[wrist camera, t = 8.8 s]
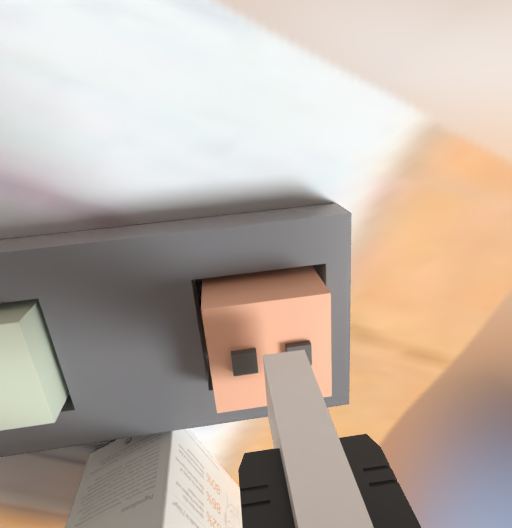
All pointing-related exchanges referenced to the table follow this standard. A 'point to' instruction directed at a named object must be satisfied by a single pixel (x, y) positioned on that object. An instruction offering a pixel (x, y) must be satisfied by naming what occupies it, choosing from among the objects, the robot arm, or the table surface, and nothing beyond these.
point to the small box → (155, 486)
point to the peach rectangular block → (264, 330)
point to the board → (160, 314)
